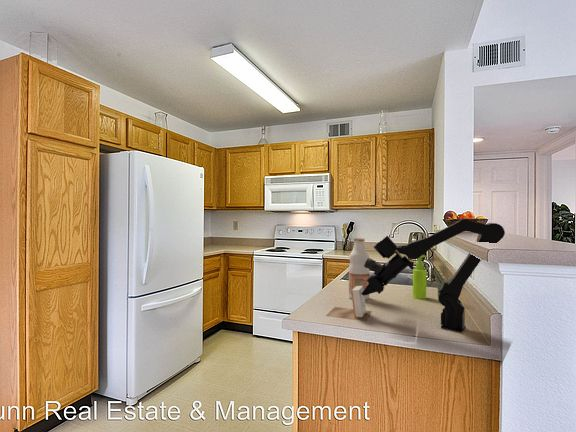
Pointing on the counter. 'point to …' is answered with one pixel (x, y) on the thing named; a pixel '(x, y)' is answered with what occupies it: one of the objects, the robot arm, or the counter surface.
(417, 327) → the counter surface
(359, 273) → the fruit juice
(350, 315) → the board
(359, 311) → the white box
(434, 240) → the robot arm
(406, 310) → the counter surface
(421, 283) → the soap dispenser
